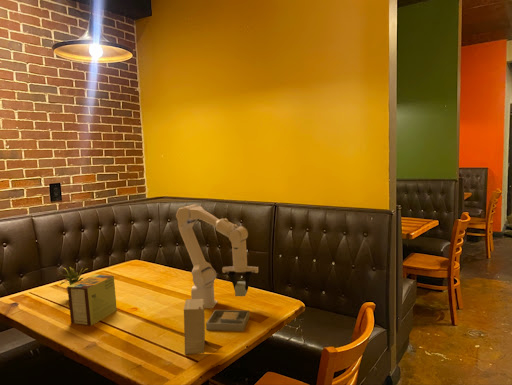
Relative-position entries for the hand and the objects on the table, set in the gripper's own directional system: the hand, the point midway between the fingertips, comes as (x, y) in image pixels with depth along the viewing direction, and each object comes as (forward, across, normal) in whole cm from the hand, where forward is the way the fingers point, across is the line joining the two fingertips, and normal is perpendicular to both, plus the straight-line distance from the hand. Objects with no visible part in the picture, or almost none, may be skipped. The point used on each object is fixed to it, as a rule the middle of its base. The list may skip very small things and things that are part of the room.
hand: (241, 289), depth 153 cm
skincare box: (+10, -10, -30) cm, 33 cm away
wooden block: (+9, -2, -13) cm, 16 cm away
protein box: (+10, -61, -8) cm, 62 cm away
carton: (+2, 0, 0) cm, 2 cm away
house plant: (+10, -83, +9) cm, 84 cm away
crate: (+9, -3, -12) cm, 15 cm away
